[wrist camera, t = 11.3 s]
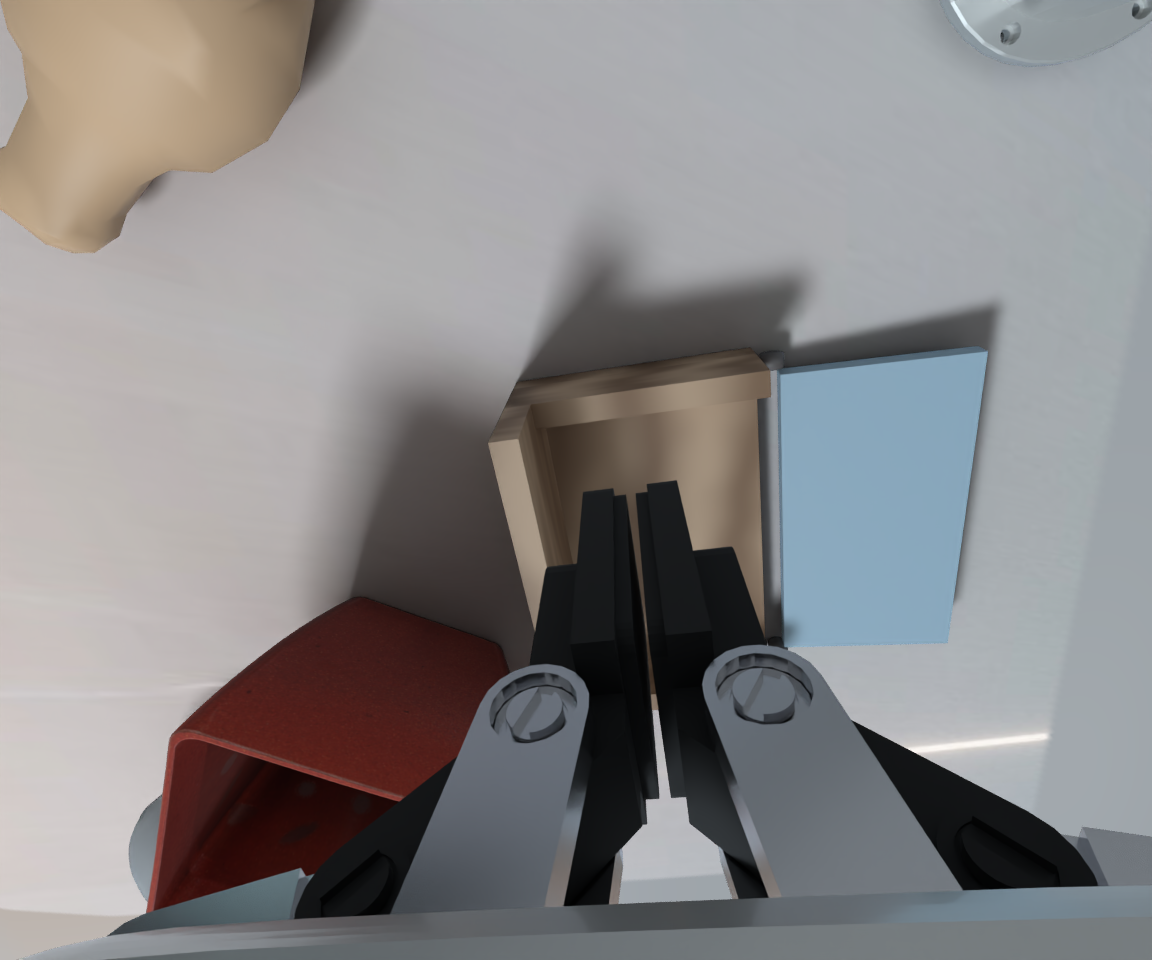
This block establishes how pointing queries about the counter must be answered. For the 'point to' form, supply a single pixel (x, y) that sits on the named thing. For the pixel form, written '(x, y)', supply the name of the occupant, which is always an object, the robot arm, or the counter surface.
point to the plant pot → (314, 746)
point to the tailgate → (875, 495)
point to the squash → (139, 101)
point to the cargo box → (636, 458)
